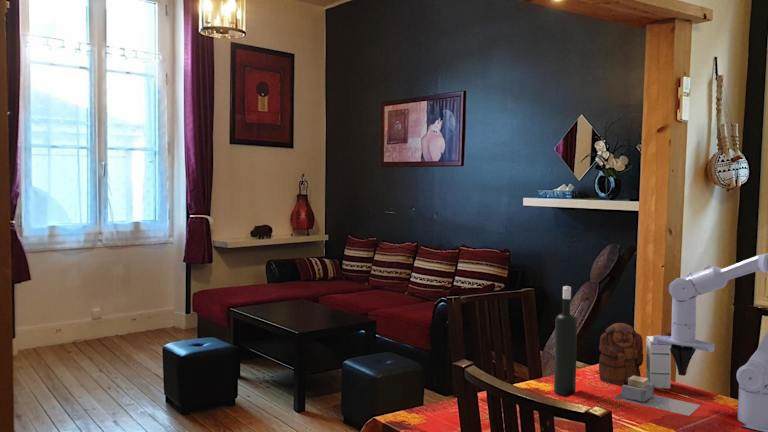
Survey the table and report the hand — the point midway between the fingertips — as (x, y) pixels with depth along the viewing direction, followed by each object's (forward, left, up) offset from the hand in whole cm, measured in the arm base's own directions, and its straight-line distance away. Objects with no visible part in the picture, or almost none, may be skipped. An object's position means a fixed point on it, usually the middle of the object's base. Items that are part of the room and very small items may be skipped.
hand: (682, 374), depth 167 cm
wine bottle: (+28, +10, -9) cm, 31 cm away
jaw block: (+10, +3, -8) cm, 13 cm away
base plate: (+5, +3, -9) cm, 11 cm away
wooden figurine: (+19, -8, -9) cm, 22 cm away
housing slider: (+10, +3, -8) cm, 13 cm away
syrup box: (+10, -12, -9) cm, 18 cm away
